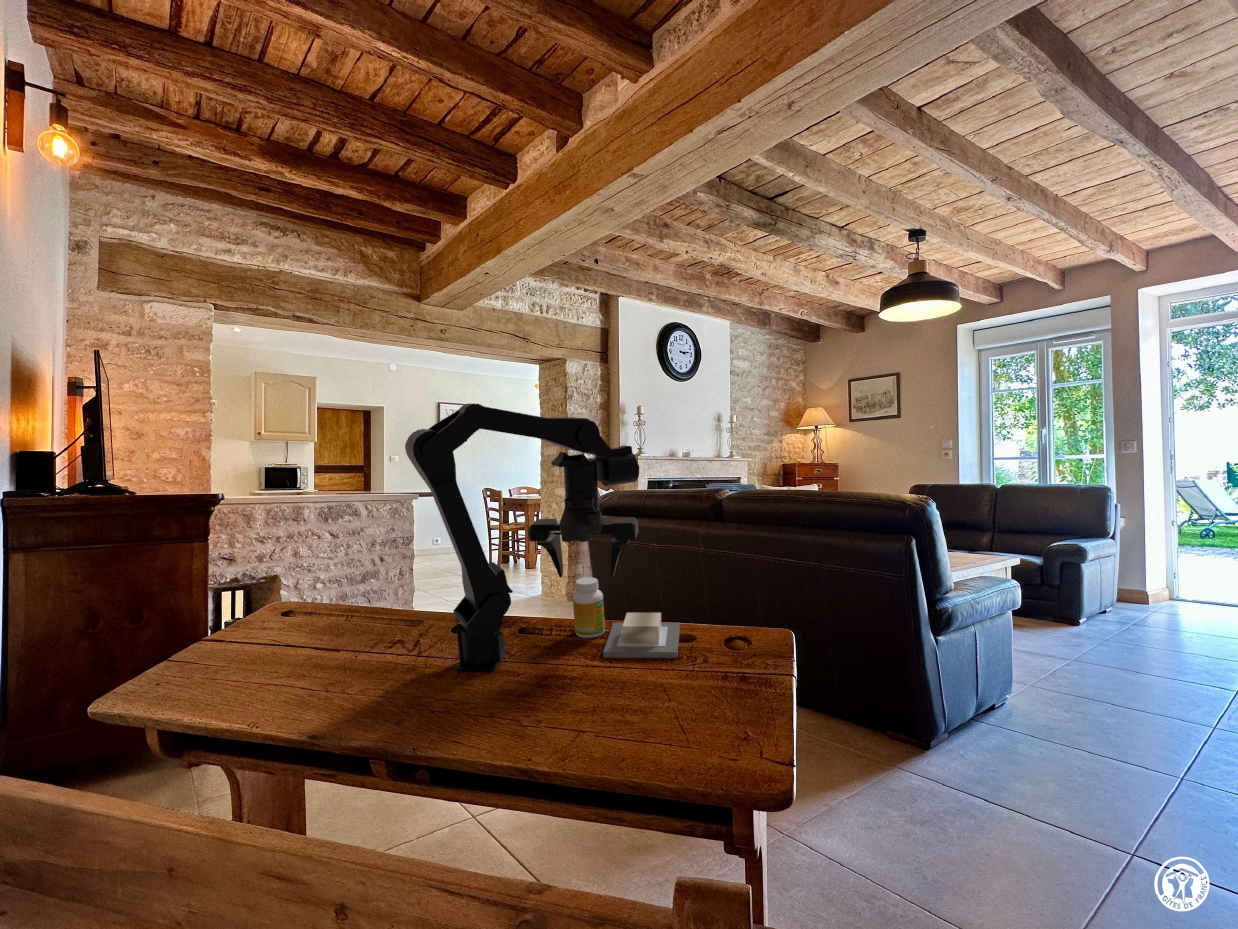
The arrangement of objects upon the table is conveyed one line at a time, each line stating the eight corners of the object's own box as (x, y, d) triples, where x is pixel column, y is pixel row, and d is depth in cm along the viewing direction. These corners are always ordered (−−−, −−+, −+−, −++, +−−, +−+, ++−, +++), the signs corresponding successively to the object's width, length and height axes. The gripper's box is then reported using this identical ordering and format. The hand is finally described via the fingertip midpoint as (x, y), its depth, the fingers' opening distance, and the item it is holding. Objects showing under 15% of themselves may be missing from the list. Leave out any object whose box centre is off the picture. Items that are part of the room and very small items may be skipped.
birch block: (623, 643, 104) (622, 626, 104) (627, 629, 110) (626, 612, 110) (659, 643, 103) (658, 626, 103) (661, 629, 109) (660, 612, 109)
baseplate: (603, 657, 102) (603, 651, 102) (613, 628, 114) (613, 622, 113) (677, 658, 100) (676, 651, 100) (679, 628, 112) (679, 622, 112)
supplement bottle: (601, 639, 109) (598, 585, 108) (571, 638, 110) (568, 585, 109) (608, 627, 114) (604, 575, 113) (579, 626, 115) (576, 575, 114)
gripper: (515, 500, 102) (522, 592, 104) (628, 497, 99) (633, 592, 101) (534, 488, 113) (540, 571, 115) (636, 485, 110) (640, 570, 112)
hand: (586, 576), depth 111 cm, fingers open, 9 cm apart
